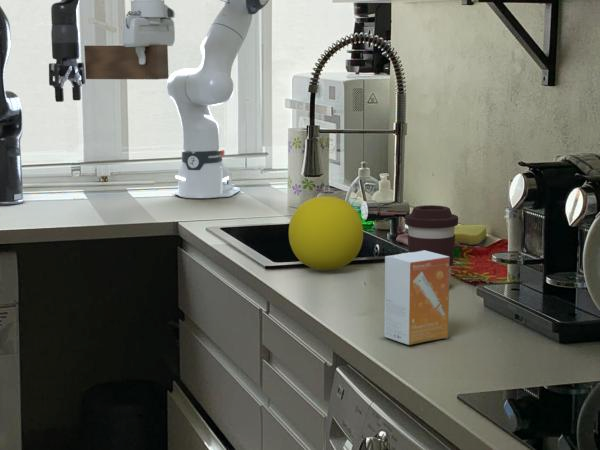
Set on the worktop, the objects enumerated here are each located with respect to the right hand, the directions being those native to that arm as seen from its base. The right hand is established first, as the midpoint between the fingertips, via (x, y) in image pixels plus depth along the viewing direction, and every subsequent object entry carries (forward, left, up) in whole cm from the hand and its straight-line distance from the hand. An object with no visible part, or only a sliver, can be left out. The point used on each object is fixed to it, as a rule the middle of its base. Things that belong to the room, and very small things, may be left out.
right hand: (150, 64), depth 280 cm
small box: (+98, +98, -41) cm, 144 cm away
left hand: (+2, -25, -10) cm, 27 cm away
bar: (0, -8, -4) cm, 9 cm away
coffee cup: (+62, +92, -41) cm, 118 cm away
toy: (+54, +68, -41) cm, 96 cm away
